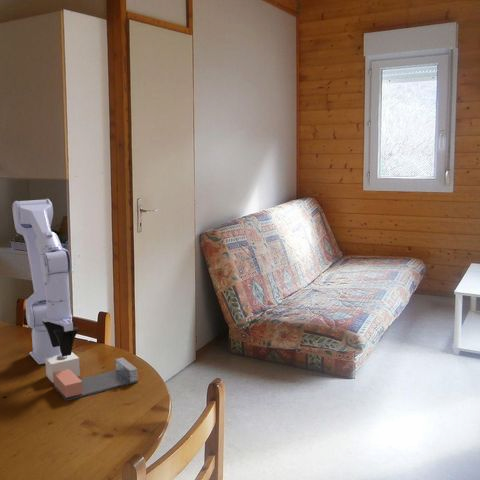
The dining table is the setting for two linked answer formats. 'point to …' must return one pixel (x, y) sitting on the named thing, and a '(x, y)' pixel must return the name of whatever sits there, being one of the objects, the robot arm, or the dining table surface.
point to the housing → (62, 365)
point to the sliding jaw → (68, 383)
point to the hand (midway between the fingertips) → (61, 350)
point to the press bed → (107, 379)
